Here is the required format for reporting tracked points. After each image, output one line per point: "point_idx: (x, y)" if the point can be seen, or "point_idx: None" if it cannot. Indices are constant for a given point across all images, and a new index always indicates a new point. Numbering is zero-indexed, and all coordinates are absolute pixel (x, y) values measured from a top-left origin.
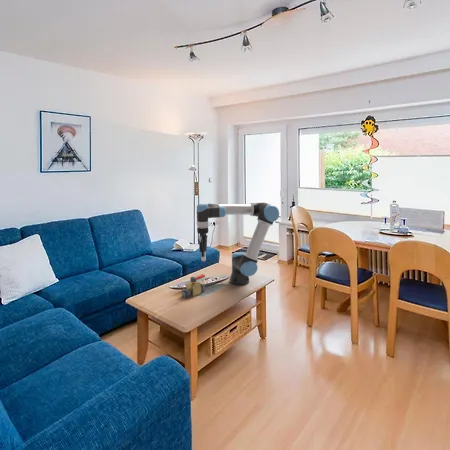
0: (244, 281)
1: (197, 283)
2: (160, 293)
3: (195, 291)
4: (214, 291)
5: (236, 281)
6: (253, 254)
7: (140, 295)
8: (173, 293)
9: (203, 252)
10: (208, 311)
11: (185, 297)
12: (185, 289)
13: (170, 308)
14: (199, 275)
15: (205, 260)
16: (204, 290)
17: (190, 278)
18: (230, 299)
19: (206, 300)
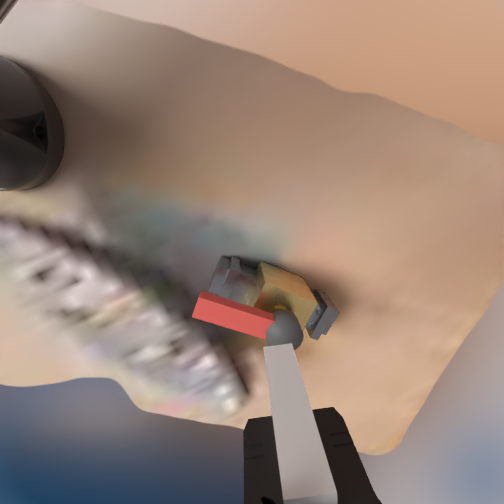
0: (10, 65)
1: (276, 295)
2: None
3: (293, 280)
4: (204, 211)
5: (45, 121)
6: None
7: None
8: None
9: (373, 502)
10: (425, 144)
11: (330, 300)
12: (319, 325)
13: (425, 307)
14: (224, 323)
15: (273, 348)
16: (226, 259)
17: (294, 347)
18: (267, 84)
19: (317, 204)
